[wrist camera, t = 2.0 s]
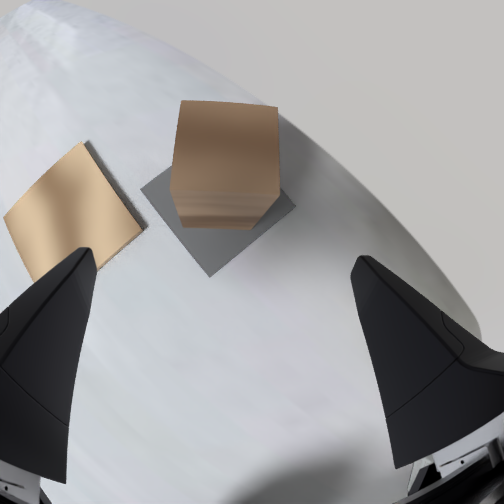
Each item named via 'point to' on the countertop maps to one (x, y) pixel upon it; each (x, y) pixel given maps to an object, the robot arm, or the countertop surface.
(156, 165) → the countertop surface
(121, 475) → the countertop surface
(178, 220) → the gray mat
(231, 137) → the walnut block
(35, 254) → the coaster
